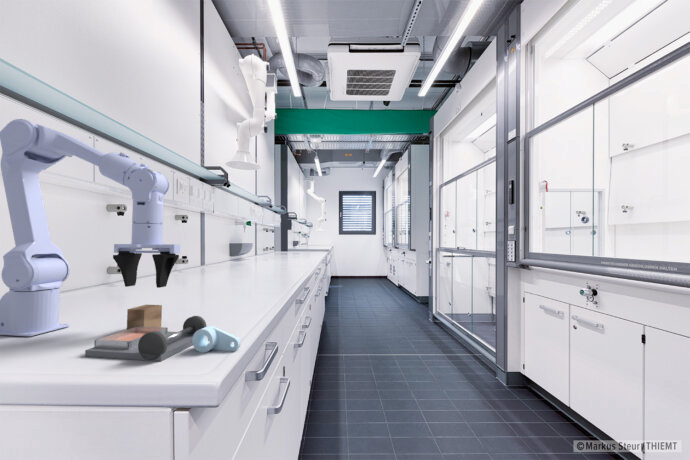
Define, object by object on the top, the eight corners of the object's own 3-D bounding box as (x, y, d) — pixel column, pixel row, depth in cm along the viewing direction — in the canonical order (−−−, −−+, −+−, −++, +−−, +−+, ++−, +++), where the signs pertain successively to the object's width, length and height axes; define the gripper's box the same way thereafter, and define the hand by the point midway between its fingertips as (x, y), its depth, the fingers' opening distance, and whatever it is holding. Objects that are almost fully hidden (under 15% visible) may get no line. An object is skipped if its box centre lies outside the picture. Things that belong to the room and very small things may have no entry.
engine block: (126, 333, 65) (127, 309, 65) (145, 326, 70) (145, 304, 70) (143, 334, 65) (144, 309, 65) (161, 327, 70) (161, 305, 70)
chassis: (85, 356, 52) (86, 329, 52) (142, 335, 64) (142, 313, 64) (162, 361, 50) (162, 333, 50) (206, 338, 62) (206, 316, 62)
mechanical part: (190, 349, 55) (194, 326, 55) (199, 344, 57) (203, 323, 57) (230, 361, 53) (234, 337, 53) (238, 355, 55) (242, 333, 55)
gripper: (102, 223, 65) (99, 288, 65) (164, 222, 63) (162, 290, 63) (129, 225, 72) (127, 283, 72) (186, 224, 70) (185, 285, 70)
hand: (145, 286), depth 68 cm, fingers open, 7 cm apart
